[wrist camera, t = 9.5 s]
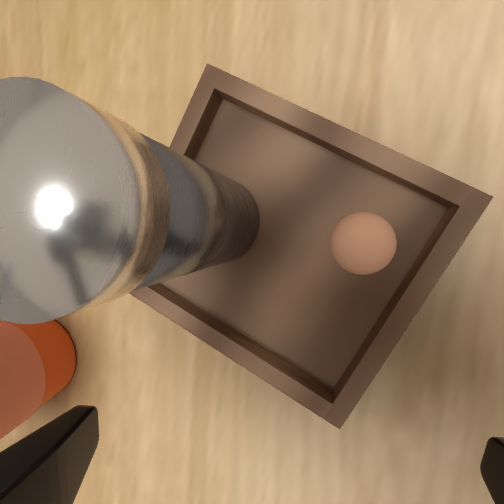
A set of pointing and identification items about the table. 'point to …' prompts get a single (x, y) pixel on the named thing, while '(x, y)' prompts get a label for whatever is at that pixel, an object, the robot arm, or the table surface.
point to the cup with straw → (31, 368)
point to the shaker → (101, 207)
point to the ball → (363, 243)
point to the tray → (310, 245)
